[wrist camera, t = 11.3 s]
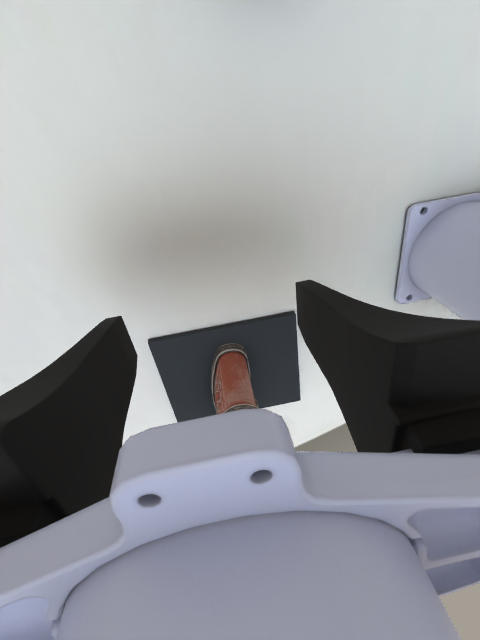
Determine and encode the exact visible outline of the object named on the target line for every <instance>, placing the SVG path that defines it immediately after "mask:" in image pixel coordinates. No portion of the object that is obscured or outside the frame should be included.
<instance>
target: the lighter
mask: <svg viewBox="0 0 480 640" xmlns="http://www.w3.org/2000/svg"><path fill="white" fill-rule="evenodd" d="M211 387H212V395H213V402H214V406H215V409H216V415H217V414H222V413H227V412H232V411H237V410H242V409H259V408H258V403H257V400H256V399H255V398H254V394H253V390H252V386H251V381H250V369H249V364H248V358H247V354H246V351H245V349H244V347H242V346H241V345H239V344H235V343H229V344H225V345H222V346H220V347H219V348H218V349H217V351H216V353H215V356H214V361H213V365H212V375H211Z"/></svg>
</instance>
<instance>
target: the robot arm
mask: <svg viewBox="0 0 480 640" xmlns="http://www.w3.org/2000/svg"><path fill="white" fill-rule="evenodd" d="M422 208H424V210H423V212H422V213H420V211H421V209H422ZM408 295H409V297H408V298H407V296H408ZM430 298H434V299H435V300H436V301H438V302H439V303H441V304H442V305H443V306H445V307H446V308H448V309H449V310H450V311H452V312H453V313H455V314H456V315H457V316H459V317H460V318H462V319H463V320H458V319H443V318H434V317H425V316H418V315H412V314H407V313H402V312H396V311H392V310H388V309H384V308H381V307H377V306H373V305H370V304H367V303H364V302H362V301H359V300H356V299H354V298H351V297H349V296H346V295H344V294H341V293H339V292H337V291H335V290H333V289H330V288H328V287H326V286H324V285H322V284H320V283H317V282H315V281H312V280H306V281H301V282H296V299H297V318H298V326H299V328H300V331H301V334H302V336H303V338H304V341H305V343H306V345H307V347H308V348H309V350H310V352H311V354H312V355H313V357H314V359H315V360H316V362H317V364H318V365H319V367H320V369H321V371H322V372H323V374H324V376H325V377H326V379H327V381H328V383H329V385H330V387H331V389H332V391H333V393H334V395H335V397H336V400H337V402H338V404H339V407H340V409H341V411H342V414H343V416H344V419H345V421H346V423H347V426H348V428H349V431H350V433H351V436H352V438H353V441H354V444H355V446H356V449H357V451H358V452H307V451H304V452H303V451H295V448H294V445H293V442H292V439H291V436H290V433H289V430H288V427H287V426H286V424H285V422H284V420H283V418H282V416H279V415H277V414H275V413H273V412H271V411H268V410H266V409H242V410H237V411H232V412H227V413H222V414H217V415H212V416H208V417H203V418H198V419H193V420H188V421H183V422H178V423H173V424H169V425H164V426H159V427H154V428H150V429H148V430H145V431H143V432H140V433H138V434H136V435H133V436H131V437H129V438H128V440H127V441H126V442H125V444H124V445H123V446H122V440H123V432H124V426H125V421H126V417H127V413H128V408H129V404H130V400H131V396H132V392H133V387H134V383H135V378H136V370H137V353H136V351H135V348H134V346H133V343H132V341H131V338H130V336H129V334H128V331H127V329H126V326H125V324H124V321H123V319H122V316H117V317H112V318H107V319H105V320H103V321H102V322H101V323H99V324H98V325H97V326H96V327H95V328H94V329H92V330H91V331H90V332H89V333H88V334H87V335H86V336H84V337H83V338H82V339H81V340H80V341H79V342H78V343H76V344H75V345H74V346H73V347H72V348H70V349H69V350H68V351H67V352H66V353H64V354H63V355H62V356H61V357H59V358H58V359H57V360H56V361H54V362H53V363H52V364H50V365H49V366H48V367H46V368H45V369H43V370H42V371H41V372H39V373H38V374H36V375H35V376H33V377H32V378H30V379H29V380H27V381H25V382H24V383H22V384H20V385H19V386H17V387H15V388H13V389H12V390H10V391H8V392H7V393H5V394H3V395H1V396H0V640H461V638H460V636H459V634H458V632H457V630H456V628H455V626H454V624H453V623H452V621H451V619H450V617H449V615H448V613H447V611H446V609H445V607H444V605H443V604H442V602H441V600H440V598H439V597H441V596H444V595H447V594H450V593H453V592H455V591H458V590H461V589H464V588H467V587H470V586H473V585H476V584H479V583H480V192H477V193H472V194H466V195H461V196H455V197H450V198H444V199H439V200H433V201H428V202H423V203H417V204H414V205H412V206H411V207H410V208H409V209H408V212H407V218H406V225H405V233H404V240H403V247H402V254H401V261H400V268H399V275H398V282H397V289H396V296H395V300H396V302H398V303H399V304H404V303H409V302H415V301H420V300H425V299H430Z"/></svg>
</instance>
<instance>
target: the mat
mask: <svg viewBox="0 0 480 640" xmlns="http://www.w3.org/2000/svg"><path fill="white" fill-rule="evenodd" d="M229 343H235V344H239V345H241V346H242V347H244V349H245V351H246V354H247V358H248V364H249V369H250V381H251V386H252V390H253V394H254V398H255V399H256V400H257V403H258V408H259V409H260V408H265V407H270V406H275V405H280V404H285V403H290V402H295V401H300V383H299V365H298V347H297V329H296V314H295V312H294V311H293V312H288V313H282V314H277V315H272V316H267V317H262V318H257V319H252V320H246V321H241V322H236V323H231V324H226V325H221V326H215V327H210V328H205V329H200V330H195V331H190V332H185V333H179V334H174V335H169V336H164V337H159V338H154V339H149V340H148V344H149V347H150V350H151V352H152V355H153V358H154V360H155V363H156V366H157V368H158V371H159V374H160V376H161V379H162V382H163V384H164V387H165V390H166V392H167V395H168V398H169V400H170V403H171V406H172V408H173V411H174V414H175V416H176V419H177V422H183V421H188V420H193V419H198V418H203V417H208V416H212V415H216V409H215V406H214V402H213V395H212V387H211V375H212V365H213V361H214V356H215V353H216V351H217V349H218V348H219V347H220V346H222V345H225V344H229Z"/></svg>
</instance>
